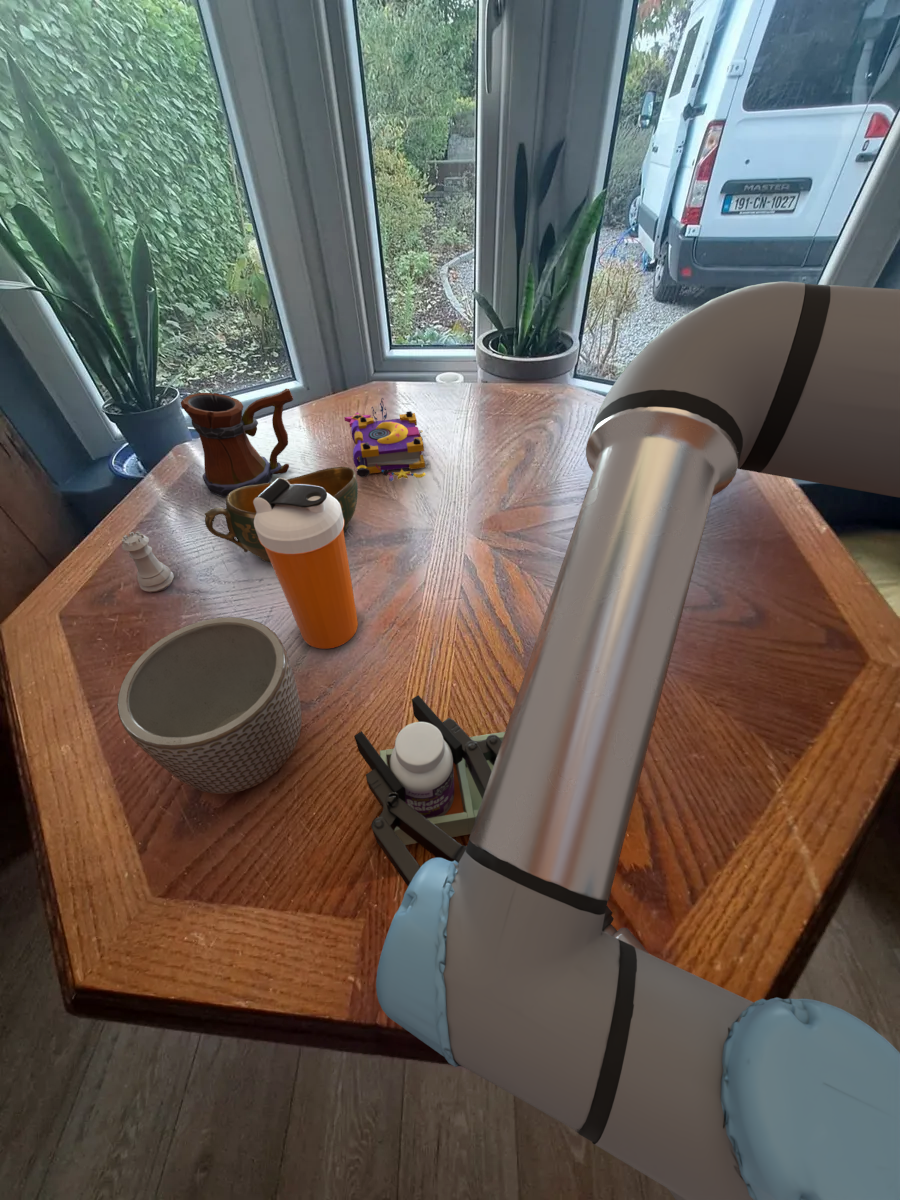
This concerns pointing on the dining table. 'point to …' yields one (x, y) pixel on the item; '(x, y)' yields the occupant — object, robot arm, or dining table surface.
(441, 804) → the pill bottle
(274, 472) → the mug
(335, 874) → the dining table surface
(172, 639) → the planter
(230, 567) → the dining table surface
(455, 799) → the tray
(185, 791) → the dining table surface
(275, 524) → the shaker bottle
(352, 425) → the book
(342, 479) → the creamer
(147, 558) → the rook chess piece
